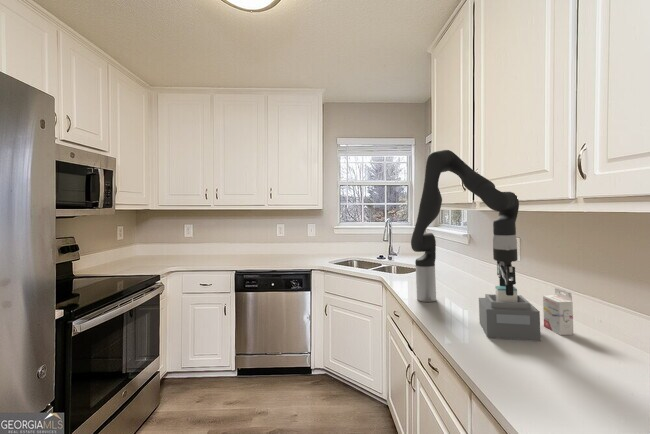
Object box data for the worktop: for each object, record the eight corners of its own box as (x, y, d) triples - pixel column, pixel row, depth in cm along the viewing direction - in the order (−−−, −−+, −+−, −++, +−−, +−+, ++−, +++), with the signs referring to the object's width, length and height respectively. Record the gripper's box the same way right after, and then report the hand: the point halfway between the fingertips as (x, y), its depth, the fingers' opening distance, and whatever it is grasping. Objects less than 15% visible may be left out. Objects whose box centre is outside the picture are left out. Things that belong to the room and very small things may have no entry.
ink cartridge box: (542, 326, 115) (541, 287, 115) (556, 325, 115) (555, 286, 115) (559, 335, 106) (558, 293, 106) (574, 335, 106) (573, 292, 106)
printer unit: (479, 322, 121) (478, 292, 121) (525, 325, 117) (524, 293, 116) (487, 338, 107) (486, 303, 107) (540, 341, 103) (539, 305, 102)
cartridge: (495, 301, 114) (495, 285, 114) (514, 302, 113) (513, 286, 113) (498, 305, 111) (498, 288, 110) (517, 306, 109) (517, 289, 109)
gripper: (488, 244, 119) (490, 286, 119) (498, 250, 105) (499, 297, 106) (510, 244, 117) (512, 287, 117) (523, 249, 103) (524, 298, 104)
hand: (506, 291), depth 111 cm, fingers open, 8 cm apart
